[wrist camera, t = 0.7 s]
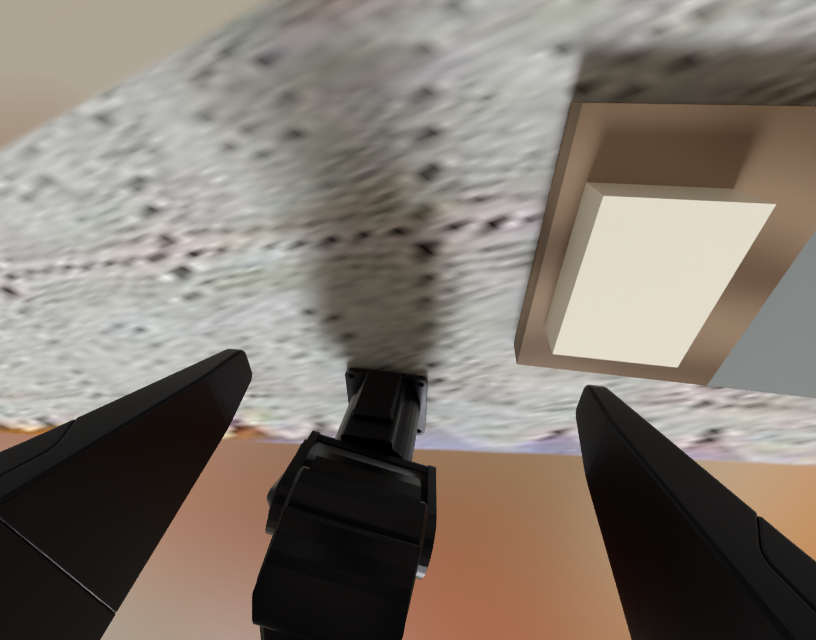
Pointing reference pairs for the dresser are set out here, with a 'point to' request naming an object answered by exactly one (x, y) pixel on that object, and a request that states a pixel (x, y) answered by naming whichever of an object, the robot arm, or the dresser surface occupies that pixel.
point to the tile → (648, 269)
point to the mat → (779, 337)
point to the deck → (689, 167)
